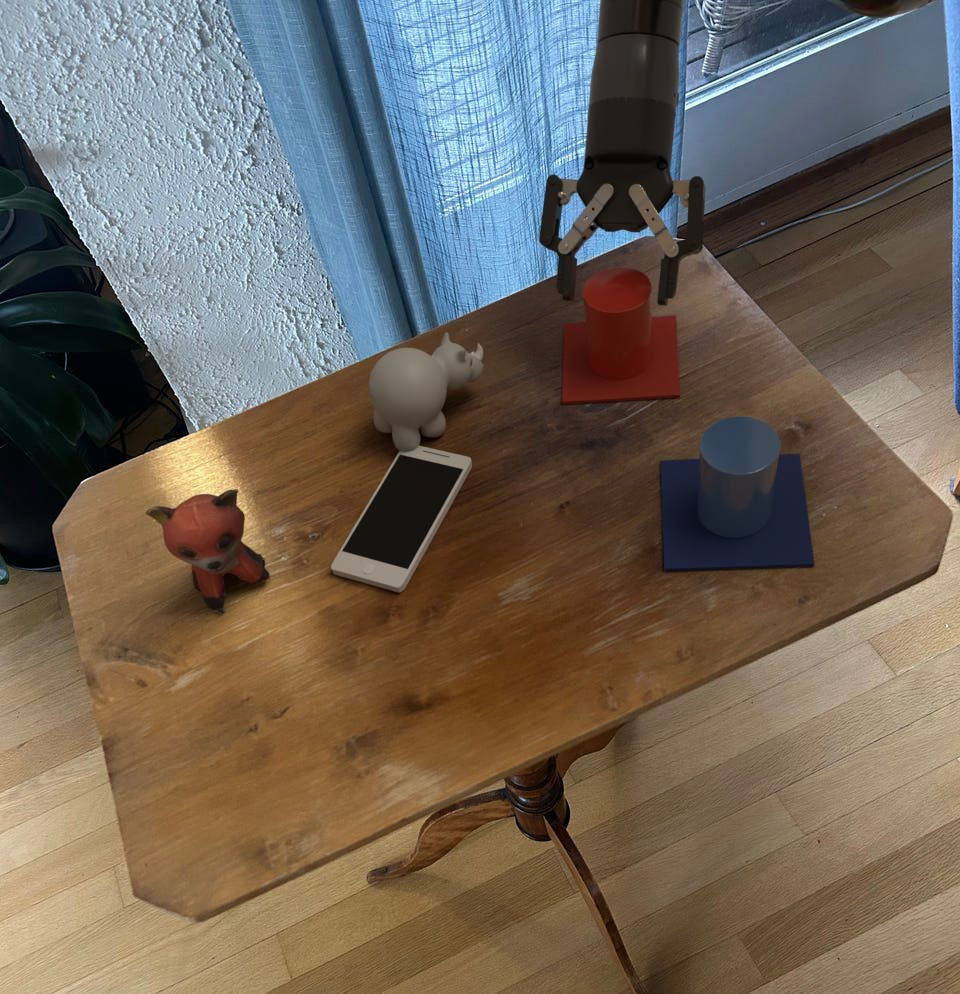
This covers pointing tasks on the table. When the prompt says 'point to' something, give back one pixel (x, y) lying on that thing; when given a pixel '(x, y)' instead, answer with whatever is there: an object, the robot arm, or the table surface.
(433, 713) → the table surface
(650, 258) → the table surface
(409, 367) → the toy rhinoceros
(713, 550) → the blue mat
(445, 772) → the table surface
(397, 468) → the smartphone
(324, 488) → the table surface
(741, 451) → the grey-blue cylinder
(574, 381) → the red mat
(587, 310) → the red cylinder
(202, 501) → the stuffed fox
